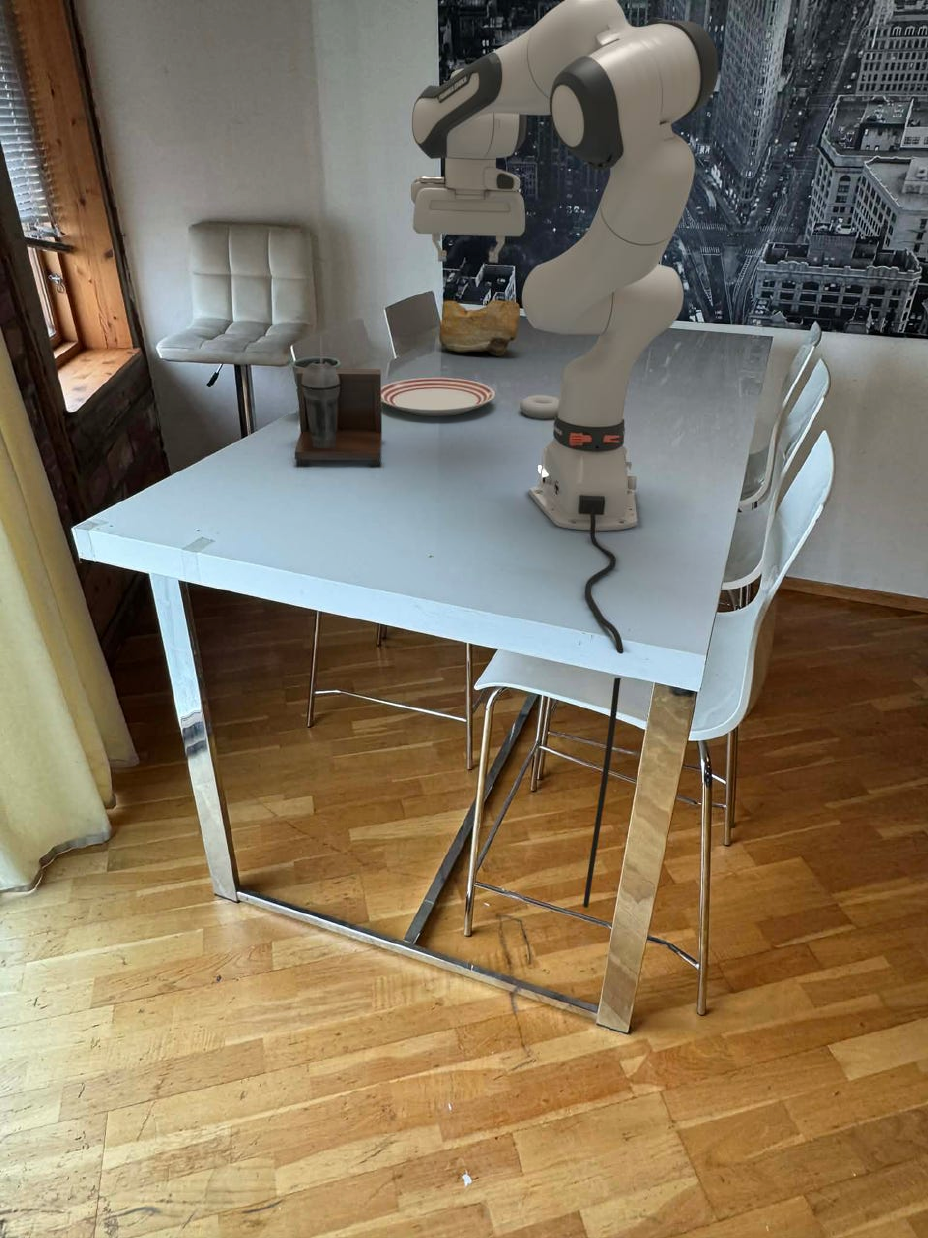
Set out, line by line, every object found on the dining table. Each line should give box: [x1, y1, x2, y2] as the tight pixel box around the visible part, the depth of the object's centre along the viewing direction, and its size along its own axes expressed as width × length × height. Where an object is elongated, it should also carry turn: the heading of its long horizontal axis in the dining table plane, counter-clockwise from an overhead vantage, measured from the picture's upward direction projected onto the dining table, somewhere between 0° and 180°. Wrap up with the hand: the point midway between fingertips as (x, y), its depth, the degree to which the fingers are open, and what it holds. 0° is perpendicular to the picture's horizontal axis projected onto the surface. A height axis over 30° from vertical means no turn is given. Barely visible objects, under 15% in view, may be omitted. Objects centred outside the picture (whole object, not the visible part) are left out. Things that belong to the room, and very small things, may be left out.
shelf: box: [294, 368, 383, 468], centre depth 162 cm, size 15×16×15 cm
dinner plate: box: [381, 377, 496, 417], centre depth 196 cm, size 27×27×3 cm
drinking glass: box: [291, 356, 341, 397], centre depth 183 cm, size 10×10×12 cm
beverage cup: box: [301, 334, 341, 448], centre depth 157 cm, size 7×7×20 cm
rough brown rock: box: [438, 299, 521, 357], centre depth 242 cm, size 23×17×15 cm
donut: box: [519, 394, 559, 420], centre depth 192 cm, size 10×3×10 cm
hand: (467, 261), depth 155 cm, fingers open, 8 cm apart
